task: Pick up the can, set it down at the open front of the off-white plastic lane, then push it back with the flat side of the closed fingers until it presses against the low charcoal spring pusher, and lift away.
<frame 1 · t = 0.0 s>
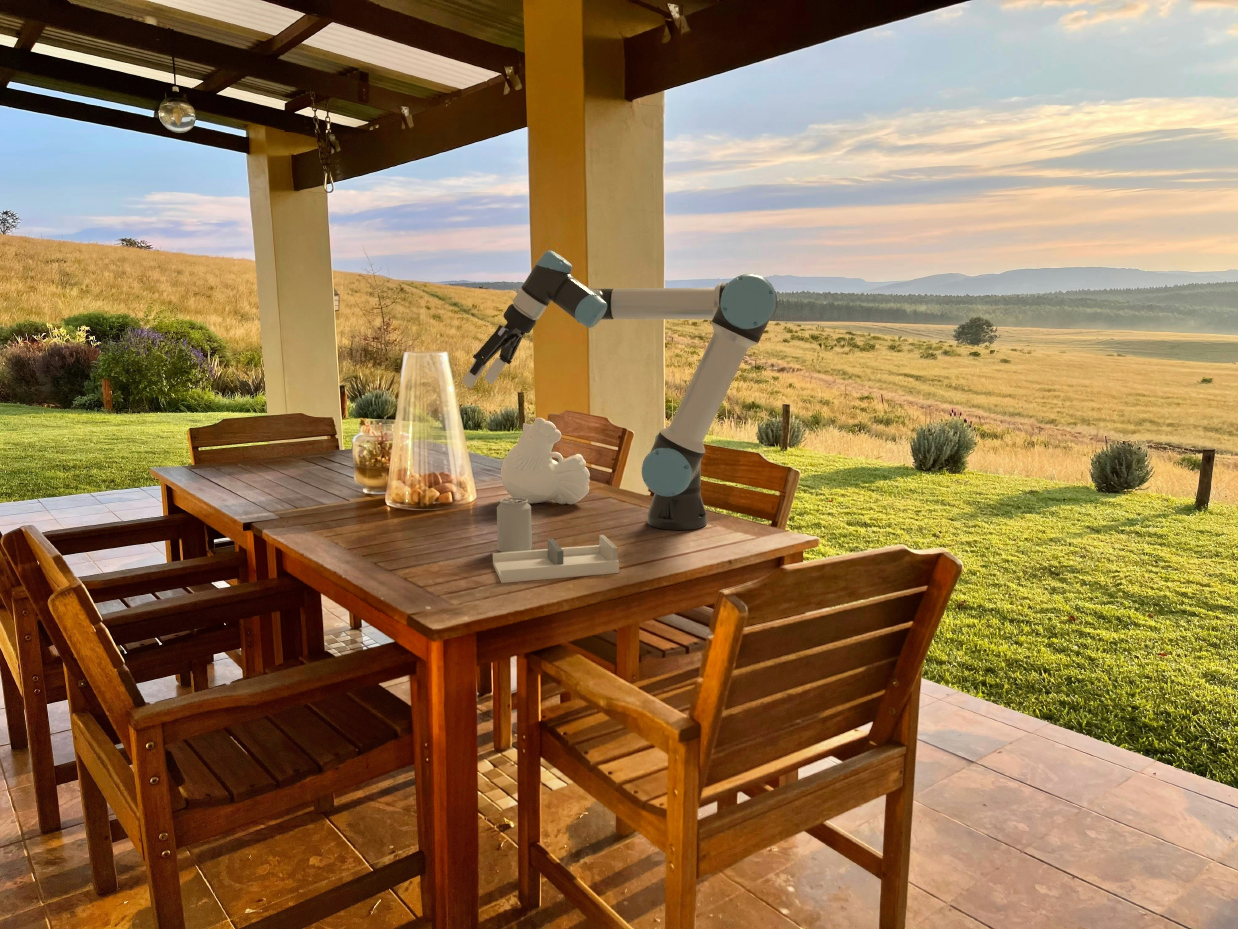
hand: (477, 383, 198), 36 cm above the table, fingers open, 13 cm apart
can: (514, 552, 181), on the table
pusher: (555, 554, 168), point 3 cm above the table, slide at 0.0 cm
lane: (554, 568, 168), on the table
decorative rooster: (545, 504, 230), on the table
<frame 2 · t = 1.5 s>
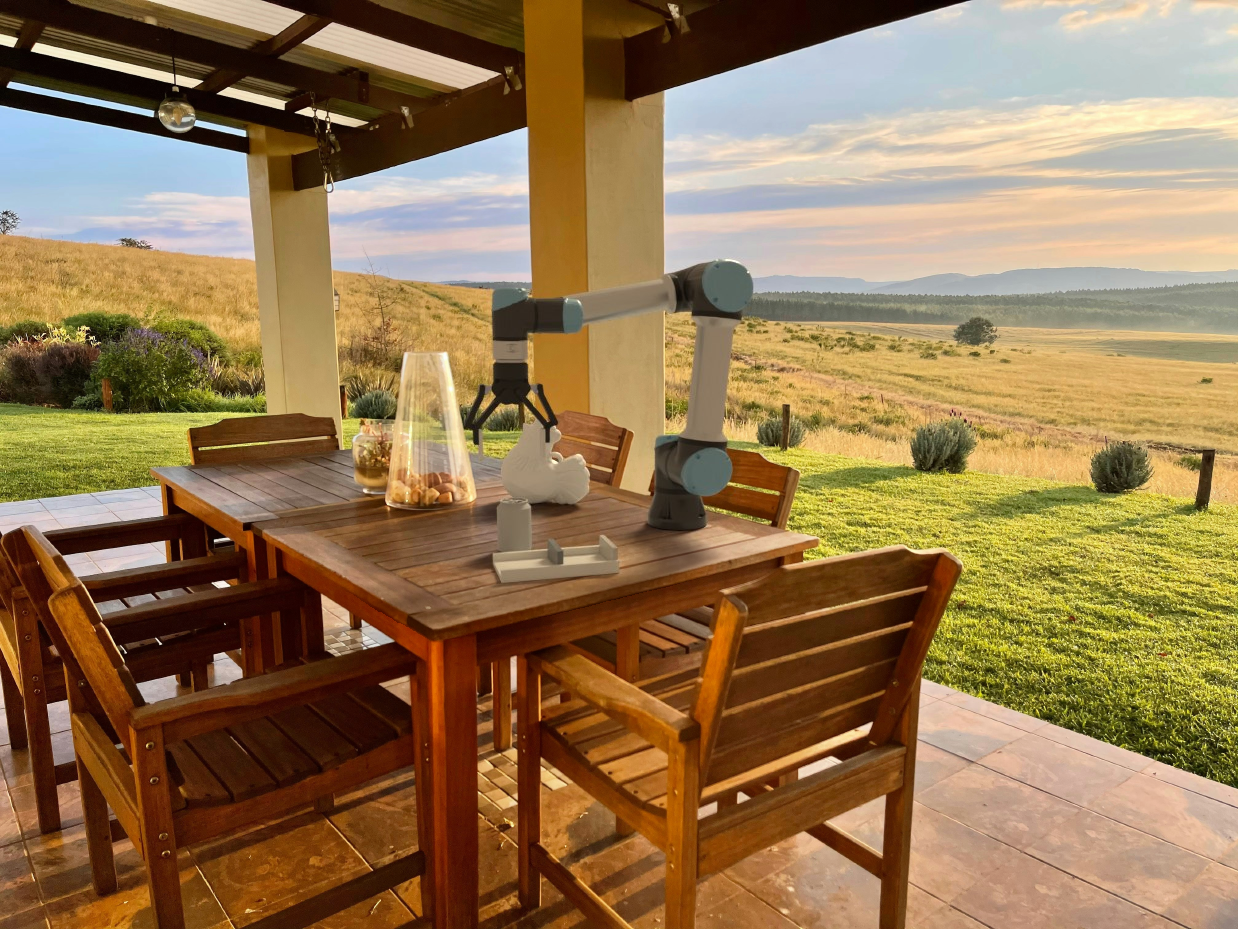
hand: (512, 459, 178), 21 cm above the table, fingers open, 13 cm apart
nothing on the table moved.
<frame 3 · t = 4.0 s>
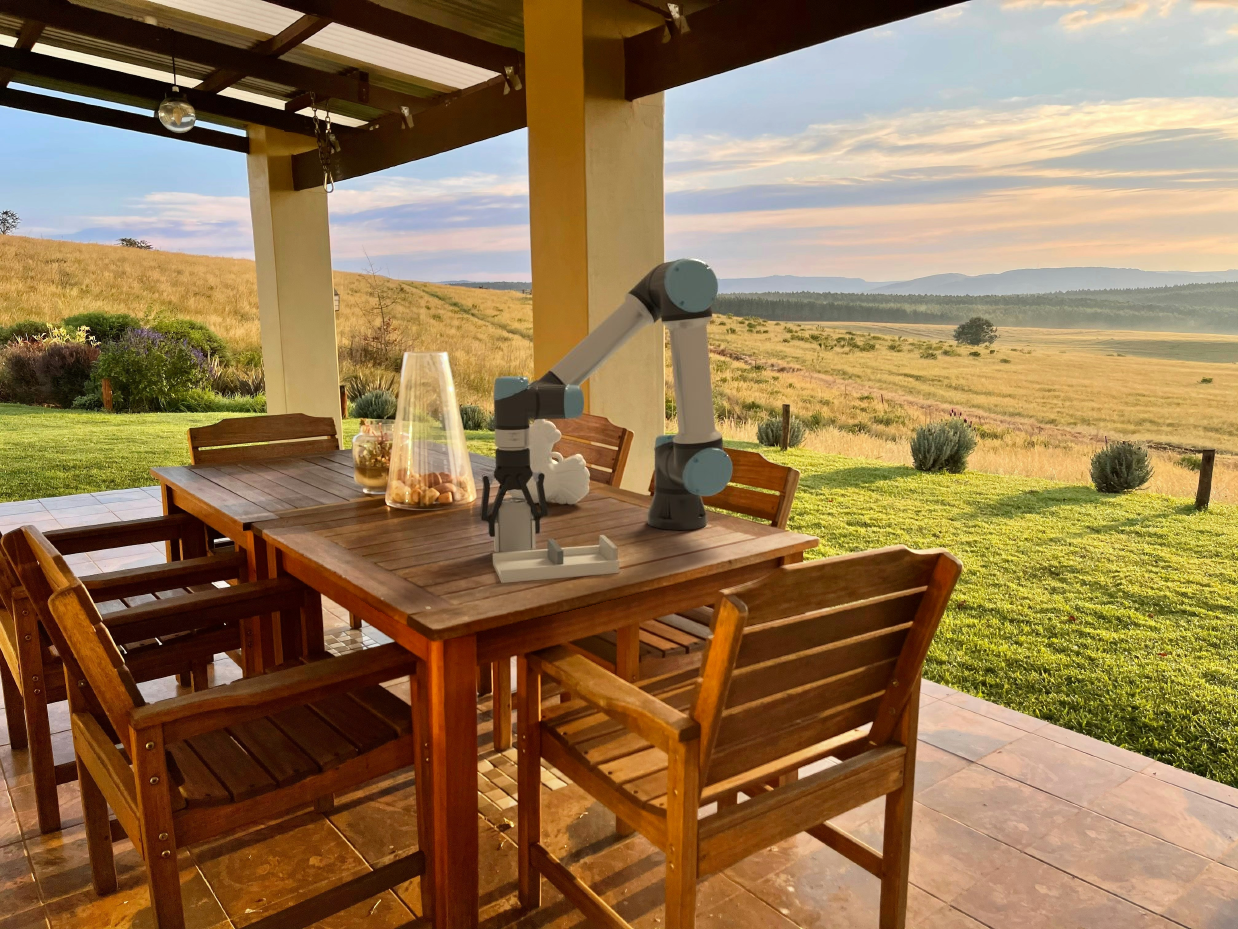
hand: (514, 549, 181), 1 cm above the table, fingers closed on can, 7 cm apart
can: (514, 552, 181), on the table, touching gripper
everything else where it was.
when the fingers open (4 cm above the table, at t = 9.7 s): can drops 2 cm, resting on lane.
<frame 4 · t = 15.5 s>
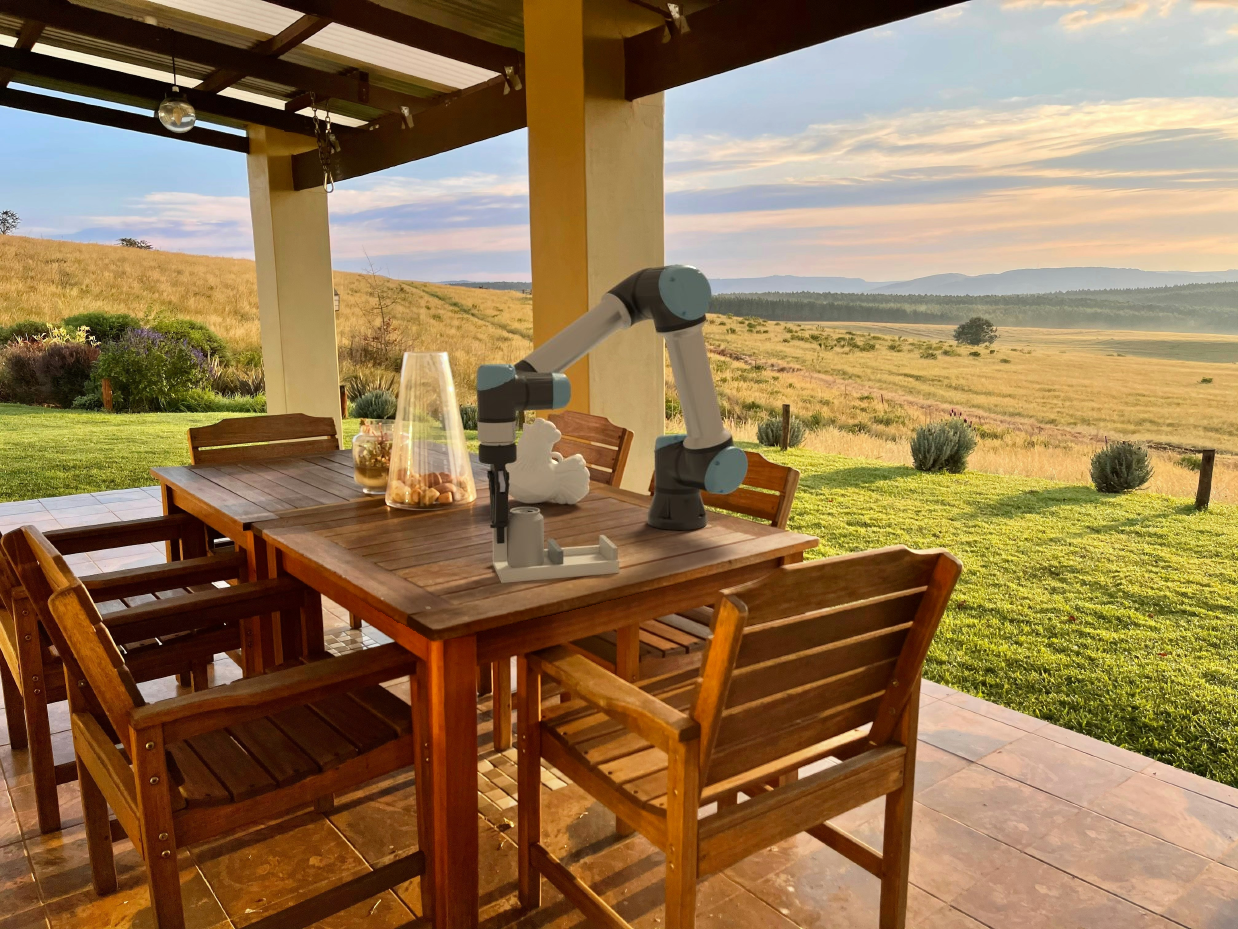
hand: (500, 557, 165), 3 cm above the table, fingers closed
can: (525, 567, 166), point 1 cm above the table, touching gripper, lane
everything else where it was.
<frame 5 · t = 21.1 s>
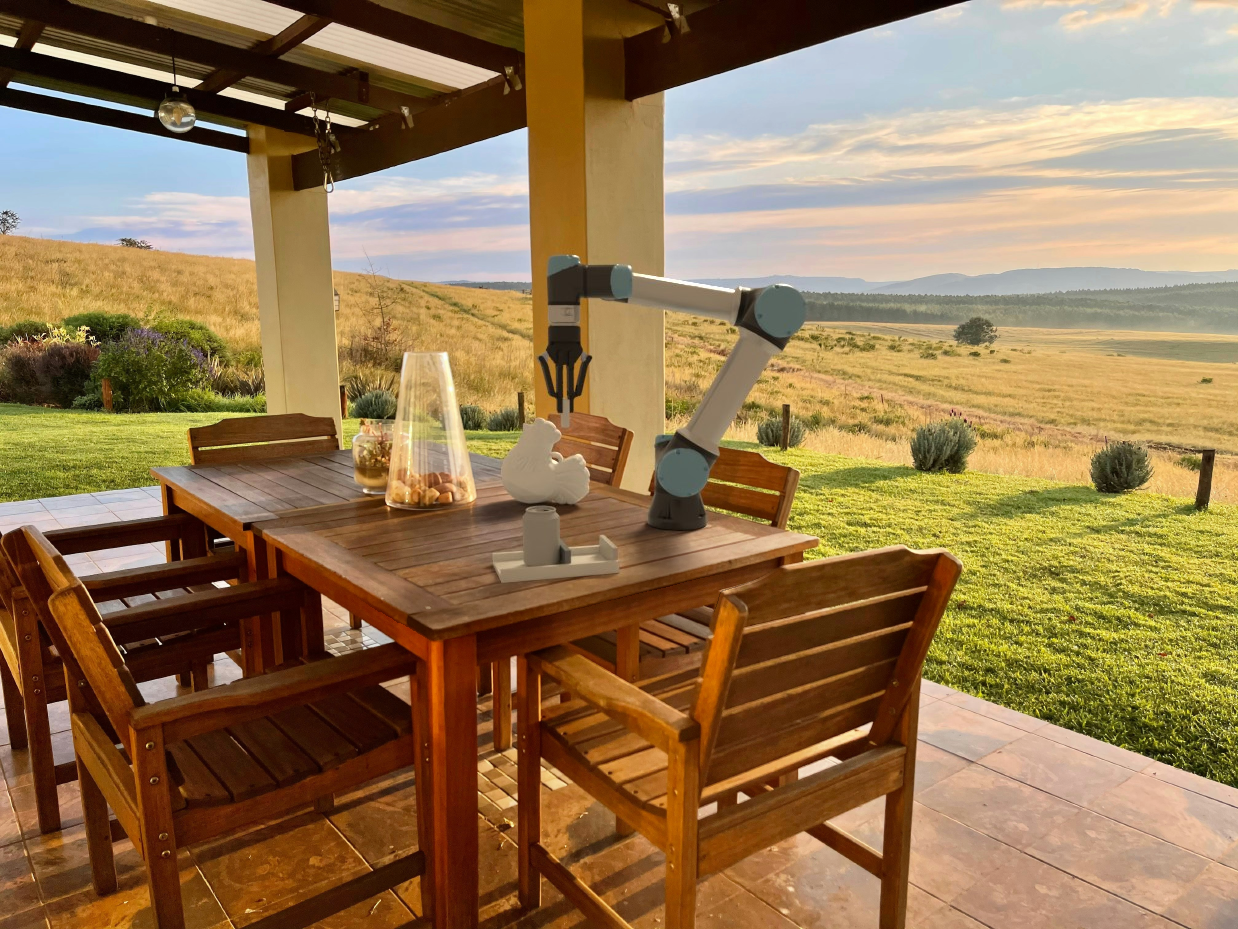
hand: (565, 426, 190), 26 cm above the table, fingers closed
can: (541, 565, 167), point 1 cm above the table, touching lane
pusher: (562, 553, 168), point 3 cm above the table, slide at 1.6 cm
everything else where it was.
at the end: can inside the target area (0.3 cm from its centre), point 0.8 cm above the table; can tilted 0°; the gripper is holding nothing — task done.
